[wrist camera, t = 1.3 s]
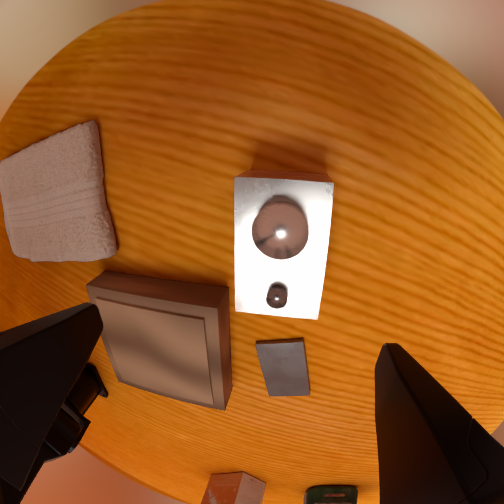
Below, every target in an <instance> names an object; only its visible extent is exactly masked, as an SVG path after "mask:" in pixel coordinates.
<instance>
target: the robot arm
mask: <svg viewBox="0 0 504 504" xmlns="http://www.w3.org/2000/svg"><path fill="white" fill-rule="evenodd" d="M103 327H104V326H103V321H102V318H101V315H100V312H99V308H98V306H97V305H95V304H92V303H88V302H86V303H83V304H80V305H77V306H74V307H71V308H69V309H66V310H63V311H60V312H57V313H54V314H51V315H48V316H45V317H43V318H40V319H37V320H34V321H31V322H28V323H25V324H23V325H20V326H17V327H14V328H11V329H8V330H5V331H2V332H0V504H20V502H21V501H22V499H23V497H24V495H25V494H26V492H27V490H28V488H29V487H30V485H31V483H32V482H33V480H34V478H35V477H36V475H37V473H38V472H39V470H40V468H41V467H42V465H43V464H44V463H46V462H50V461H53V460H56V459H58V458H60V457H62V456H64V455H66V454H67V452H68V453H71V452H72V451H73V450H74V449H75V448H76V446H77V445H78V444H79V442H80V440H81V439H82V437H83V435H84V433H85V431H86V430H87V428H88V426H89V424H90V423H91V421H90V420H88V419H86V418H85V417H84V416H83V415H84V414H85V412H86V411H87V410H88V408H89V407H90V406H91V404H92V403H93V401H94V400H95V399H96V397H97V396H98V395H100V396H103V397H105V398H107V397H108V394H107V392H106V390H105V388H104V385H103V383H102V381H101V379H100V377H99V375H98V373H97V370H96V368H95V367H94V366H93V365H90V364H88V363H87V361H88V359H89V357H90V355H91V353H92V351H93V349H94V347H95V345H96V343H97V341H98V339H99V337H100V335H101V333H102V331H103ZM375 422H376V433H377V445H378V460H379V482H380V504H504V447H503V446H502V445H500V443H499V442H497V441H496V440H495V439H494V438H493V437H492V436H491V435H490V434H489V433H488V432H487V431H486V430H485V429H484V428H483V427H482V426H481V425H480V424H479V423H478V422H477V421H476V420H475V419H474V418H473V419H472V416H471V415H470V414H469V413H468V412H467V411H466V410H465V409H464V408H463V407H462V406H461V405H460V403H459V402H458V401H457V400H456V399H455V398H454V397H453V396H452V395H451V394H450V393H449V392H448V391H447V390H446V389H445V388H444V387H443V386H442V385H441V384H440V383H438V382H437V381H436V380H435V379H434V378H433V377H432V376H431V375H430V374H429V373H428V372H427V371H426V370H425V369H424V368H423V367H422V366H421V365H420V364H419V363H418V362H417V361H416V360H415V359H414V358H413V357H412V356H411V355H410V354H409V353H408V352H407V351H405V350H404V349H403V348H402V347H401V346H400V345H399V344H397V343H385V344H384V345H383V346H382V349H381V351H380V354H379V357H378V360H377V362H376V365H375Z"/></svg>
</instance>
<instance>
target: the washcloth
mask: <svg viewBox="0 0 504 504" xmlns="http://www.w3.org/2000/svg"><path fill="white" fill-rule="evenodd" d="M103 178H104V173H103V166H102V157H101V147H100V137H99V131H98V127H97V124H96V123H95V120H93V121H90V122H86V123H84V124H77V126H74V127H71V128H69V129H67V130H65V131H63V132H58V133H57V134H54V135H53V136H50V137H49V138H47V139H45V140H43V141H40V142H39V143H34V144H32V145H31V146H29V147H28V148H25V149H22V150H21V151H20V152H19V153H15V154H13V155H12V156H9V157H8V158H5V159H4V160H2V161H1V162H0V192H1V196H2V203H3V208H4V219H5V227H6V231H7V233H8V237H9V240H10V244H11V248H12V251H13V253H14V254H15V255H16V256H18V257H22V258H28V259H30V260H31V262H37V261H53V262H64V261H80V262H83V261H84V262H85V261H87V262H90V261H96V260H99V259H103V258H109V257H111V256H114V255H116V253H117V247H116V238H115V234H114V228H113V226H112V222H111V215H110V213H109V211H108V209H107V205H106V197H105V194H104V186H103Z"/></svg>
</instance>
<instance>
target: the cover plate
mask: <svg viewBox="0 0 504 504" xmlns="http://www.w3.org/2000/svg"><path fill="white" fill-rule="evenodd" d="M255 345H256V349H257V353H258V357H259V360H260V364H261V368H262V371H263V375H264V379H265V382H266V386H267V390H268V393H269V396H303V395H310V386H309V378H308V370H307V362H306V354H305V347H304V340H303V338H298V339H285V340H270V341H256V344H255Z"/></svg>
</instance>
